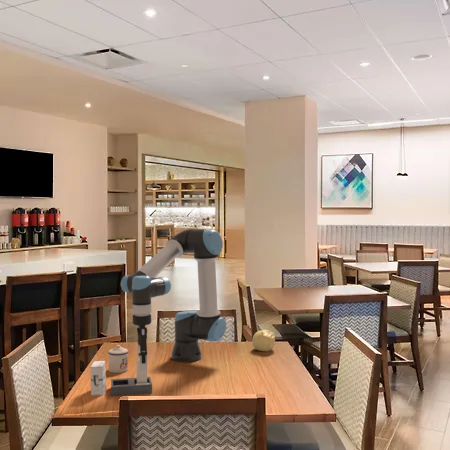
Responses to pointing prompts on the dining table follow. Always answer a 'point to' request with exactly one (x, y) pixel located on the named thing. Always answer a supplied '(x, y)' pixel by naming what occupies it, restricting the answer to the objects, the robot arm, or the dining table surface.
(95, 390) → the ink box
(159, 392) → the dining table surface
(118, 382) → the console
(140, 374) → the plug
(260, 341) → the pale yellow rounded lump
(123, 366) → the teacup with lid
